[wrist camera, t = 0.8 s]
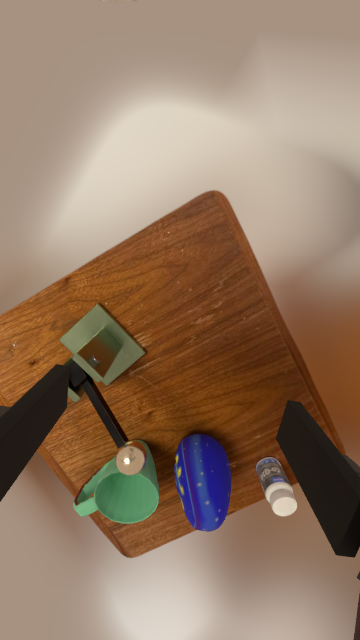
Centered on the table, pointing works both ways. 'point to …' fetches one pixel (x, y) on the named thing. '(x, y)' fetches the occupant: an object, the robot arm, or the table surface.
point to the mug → (120, 492)
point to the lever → (111, 425)
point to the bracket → (100, 348)
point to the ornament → (203, 481)
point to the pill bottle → (276, 486)
